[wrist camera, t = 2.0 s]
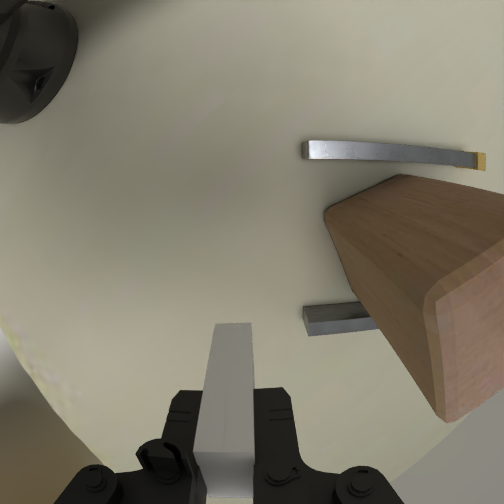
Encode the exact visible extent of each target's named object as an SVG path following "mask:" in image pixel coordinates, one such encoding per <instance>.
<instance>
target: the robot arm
mask: <svg viewBox="0 0 504 504" xmlns="http://www.w3.org/2000/svg"><path fill="white" fill-rule="evenodd" d="M77 39H78V34H77V26H76V23H75V20H74V19H73V17H72V16H71V14H70V13H69V12H67V11H66V10H64V9H63V8H61V7H60V6H58V5H56V4H54V3H51V2H41V1H28V0H0V123H7V124H15V123H20V122H24V121H26V120H28V119H30V118H32V117H33V116H35V115H36V114H37V113H39V112H40V111H41V110H42V109H43V108H44V107H45V106H46V105H47V104H48V103H49V102H50V101H51V100H52V98H53V97H54V96H55V95H56V93H57V92H58V90H59V89H60V87H61V86H62V84H63V82H64V81H65V79H66V77H67V75H68V73H69V70H70V68H71V66H72V63H73V60H74V57H75V53H76V48H77ZM136 456H137V458H138V460H139V462H140V464H141V465H142V467H143V469H141V470H137V471H132V472H123V473H114V472H113V471H112V470H111V469H109V468H108V467H106V466H103V465H99V464H98V465H89V466H87V467H84V468H82V469H81V470H80V471H79V472H78V473H77V474H76V475H75V477H74V478H73V479H72V481H71V482H70V483H69V484H68V486H67V487H66V488H65V490H64V491H63V492H62V493H61V495H60V496H59V497H58V499H57V500H56V501H55V503H54V504H206V495H207V494H208V496H209V497H217V498H253V504H404V503H403V502H402V500H401V499H400V497H399V496H398V495H397V493H396V492H395V490H394V489H393V488H392V486H391V485H390V484H389V482H388V481H387V480H386V478H385V477H384V475H383V474H381V473H380V472H379V471H378V470H377V469H374V468H372V467H369V466H356V467H352V468H349V469H347V470H346V471H344V472H342V473H341V474H335V473H326V472H321V471H316V470H314V469H312V468H310V467H309V466H307V465H306V464H305V463H304V462H303V460H302V459H301V456H300V453H299V447H298V441H297V435H296V428H295V422H294V416H293V411H292V404H291V397H290V396H289V394H288V393H287V392H286V391H285V390H284V388H283V387H279V388H263V389H255V381H254V360H253V343H252V325H251V323H228V324H215V327H214V333H213V338H212V344H211V349H210V355H209V360H208V366H207V371H206V377H205V383H204V388H203V391H195V390H180V391H179V392H178V393H177V394H176V396H175V397H174V398H173V399H172V401H171V405H170V408H169V413H168V415H167V419H166V423H165V426H164V430H163V434H162V437H161V439H153V440H151V441H148V442H146V443H144V444H143V445H142V446H140V447H139V449H138V451H137V452H136Z"/></svg>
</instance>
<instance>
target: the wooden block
mask: <svg viewBox="0 0 504 504" xmlns="http://www.w3.org/2000/svg"><path fill="white" fill-rule="evenodd" d="M325 223H326V225H327V228H328V230H329V232H330V235H331V237H332V240H333V242H334V245H335V247H336V250H337V252H338V255H339V257H340V260H341V262H342V265H343V267H344V270H345V273H346V275H347V278H348V281H349V283H350V286H351V289H352V291H353V292H354V294H355V295H356V297H357V298H358V299H359V301H360V302H361V304H362V305H363V306H364V308H365V309H366V310H367V312H368V313H369V315H370V316H371V317H372V319H373V320H374V322H375V323H376V325H377V326H378V327H379V329H380V330H381V332H382V333H383V335H384V336H385V337H386V339H387V340H388V342H389V343H390V345H391V346H392V348H393V349H394V351H395V352H396V354H397V355H398V357H399V358H400V360H401V361H402V362H403V364H404V365H405V367H406V368H407V370H408V372H409V373H410V375H411V376H412V378H413V379H414V381H415V382H416V384H417V385H418V387H419V388H420V390H421V391H422V393H423V395H424V396H425V398H426V399H427V401H428V402H429V404H430V406H431V407H432V409H433V410H434V412H435V414H436V415H437V416H438V417H439V418H440V419H442V420H443V421H444V422H446V423H450V422H453V421H456V420H458V419H460V418H461V417H463V416H464V415H466V414H467V413H469V412H470V411H472V410H473V409H475V408H476V407H478V406H479V405H480V404H482V403H483V402H485V401H486V400H487V399H489V398H490V397H492V396H493V395H494V394H496V393H497V392H498V391H499V390H501V389H502V388H503V387H504V195H503V194H499V193H495V192H491V191H487V190H483V189H478V188H474V187H470V186H465V185H460V184H455V183H450V182H445V181H440V180H435V179H429V178H424V177H418V176H412V175H403V174H400V175H398V176H396V177H394V178H392V179H389V180H387V181H385V182H383V183H381V184H379V185H376V186H374V187H372V188H370V189H368V190H366V191H363V192H361V193H359V194H357V195H355V196H353V197H350V198H348V199H346V200H344V201H342V202H340V203H338V204H335V205H333V206H331V207H330V208H329V209H328V210H327V211H326V212H325Z"/></svg>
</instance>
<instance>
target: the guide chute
mask: <svg viewBox="0 0 504 504" xmlns="http://www.w3.org/2000/svg"><path fill="white" fill-rule="evenodd" d="M302 159H365V160H388V161H405V162H419V163H432V164H442V165H452V166H456V167H460V168H467V169H474V170H482V171H485V170H486V154H485V153H479V152H464V151H454V150H447V149H439V148H430V147H421V146H411V145H400V144H387V143H371V142H349V141H306V142H302ZM303 321H304V324H305V327H306V330H307V333H308V336H318V335H329V334H338V333H348V332H356V331H365V330H373V329H379V327H378V326H377V325H376V323H375V322H374V320H373V319H372V317H371V316H370V315H369V313H368V312H367V310H366V309H365V308H364V306H363V305H362V304H361V302H353V303H342V304H330V305H318V306H304V307H303Z"/></svg>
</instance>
